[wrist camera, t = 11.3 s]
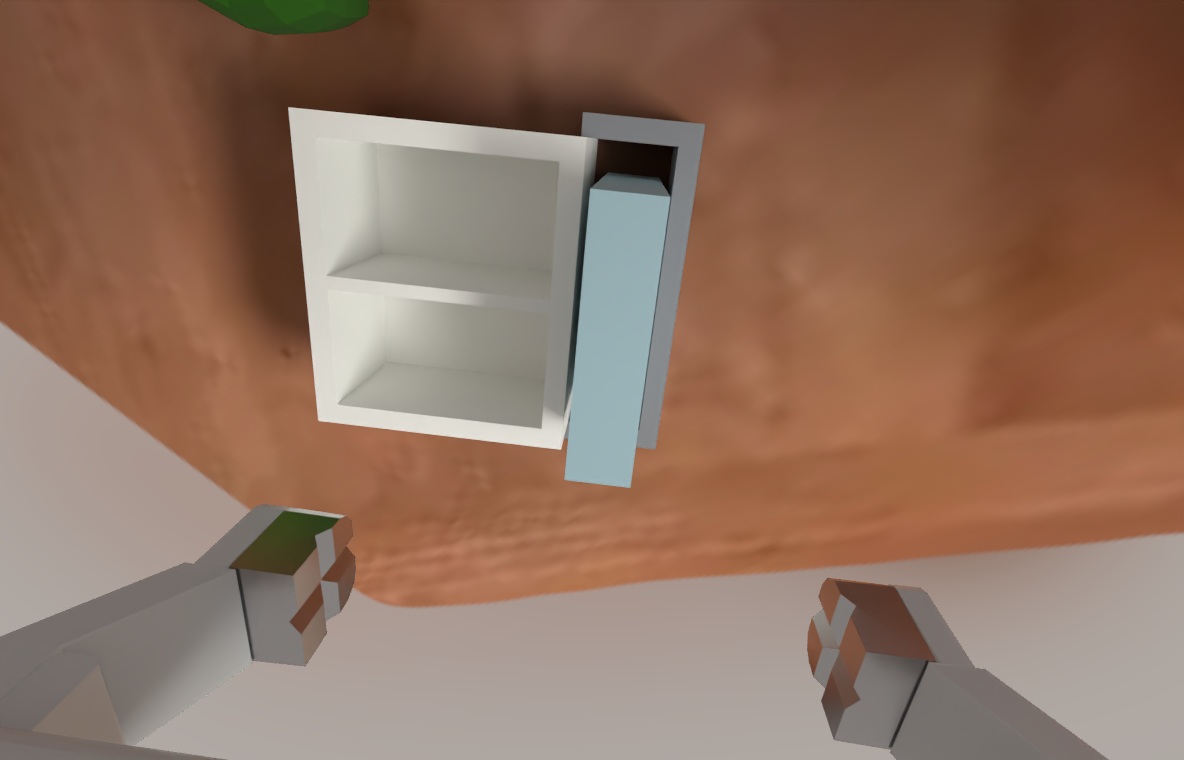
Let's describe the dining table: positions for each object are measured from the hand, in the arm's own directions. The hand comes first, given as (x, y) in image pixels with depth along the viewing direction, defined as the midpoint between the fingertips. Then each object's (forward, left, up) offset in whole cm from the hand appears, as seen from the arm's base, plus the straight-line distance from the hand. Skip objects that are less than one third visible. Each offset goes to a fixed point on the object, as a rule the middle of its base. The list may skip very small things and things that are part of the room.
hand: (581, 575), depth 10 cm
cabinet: (+6, 0, -24) cm, 24 cm away
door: (0, 0, -24) cm, 24 cm away
